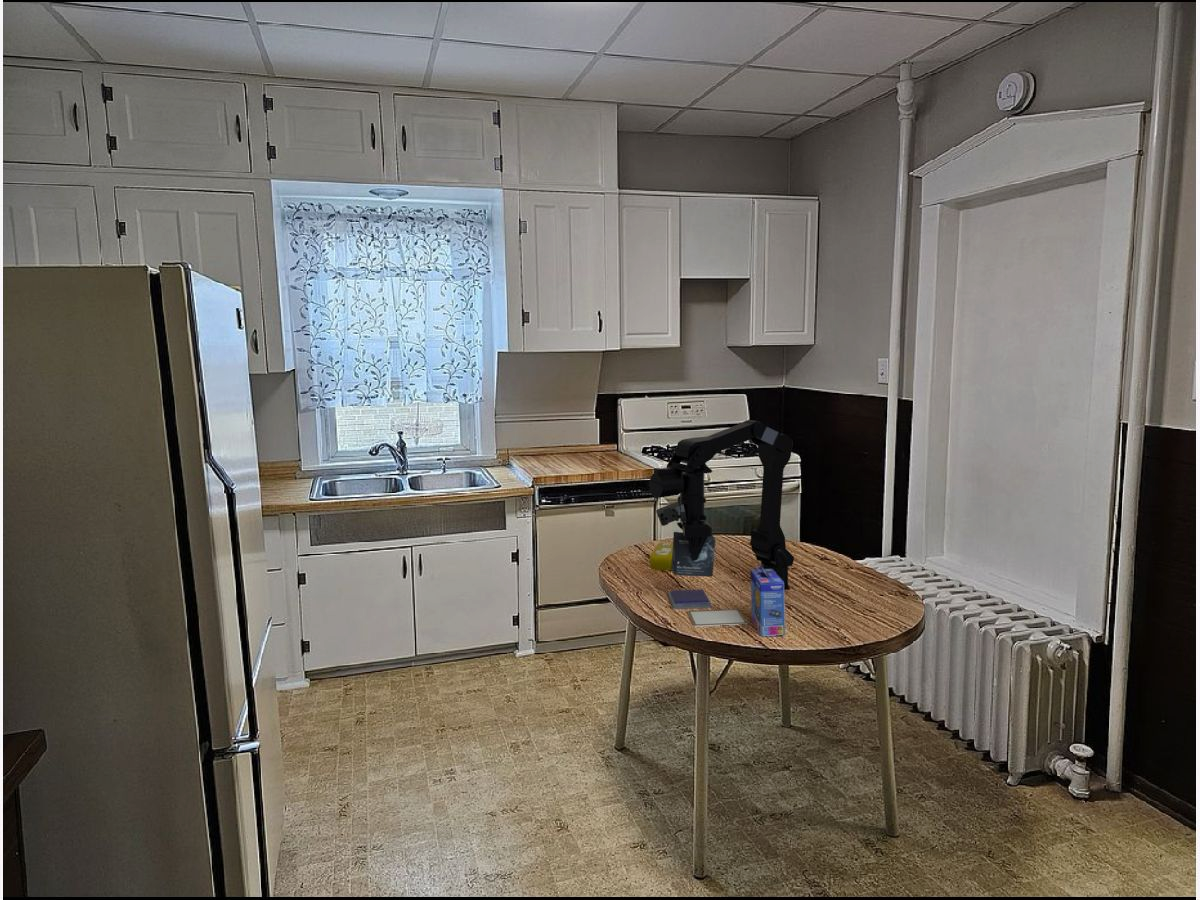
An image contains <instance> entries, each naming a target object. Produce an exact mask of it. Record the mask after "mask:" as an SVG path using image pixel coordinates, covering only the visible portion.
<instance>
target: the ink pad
mask: <svg viewBox="0 0 1200 900" xmlns="http://www.w3.org/2000/svg"><path fill="white" fill-rule="evenodd" d="M667 593H668V594H667V597H668V599H669V601H670V604H671V606H672V609H673V610H690V609H691V610H694V609H711V608H712V602H711V600H710V598H709V597H708V595H707V592H705V590H703V589H702V588H701V589H698V588H697V589H679V590H670V591H668V592H667Z"/></svg>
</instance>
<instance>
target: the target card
mask: <svg viewBox="0 0 1200 900" xmlns="http://www.w3.org/2000/svg"><path fill="white" fill-rule="evenodd" d="M687 614H688V617H689V618H690V621H691V623H692V626H693V627H694V628H701V627H702V628H703V627H722V625H729V626H740V625H739V624H748V621H747V620H746V618H745V617H744V616H743V614H742V612H741V611H740V609H739V608H730V609H729V608H728V609H727V608H726V609H724V608H723V609H704V610H701V609H700V610H699V609H697V610H687ZM720 625H721V626H720Z"/></svg>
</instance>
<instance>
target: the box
mask: <svg viewBox="0 0 1200 900" xmlns="http://www.w3.org/2000/svg"><path fill="white" fill-rule="evenodd" d="M682 533H683V531H682V532H679V531H673V535H672V536H673V538H672V539H673V540H672V543H673V552H672V563H671V569H672V571H671V572H672V573H673V575H674V576H689V577H707V578H712V577H713V575H714V562H715V550H716V549H715V547H716V538H715V537H714V535H713V534H712V536H710V537H708V538H707V540H706V542H705V544H704V546H703V548H702V550H701V552H700V555H699V557H698V559H697V560H694V561H693V560H692V556H691V551H690V546H689V541H688V539H687V538H685V537H684V536H683V534H682Z"/></svg>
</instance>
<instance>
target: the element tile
mask: <svg viewBox="0 0 1200 900" xmlns="http://www.w3.org/2000/svg"><path fill="white" fill-rule="evenodd" d="M672 552H673V542H659V543H658V544H656V546H655V548H653V550H652V551H651V552H650V554H649V569H650V568H651V569H650V570H652V569H655V570H654V571H658V570H672V569H671V563H672Z"/></svg>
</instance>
